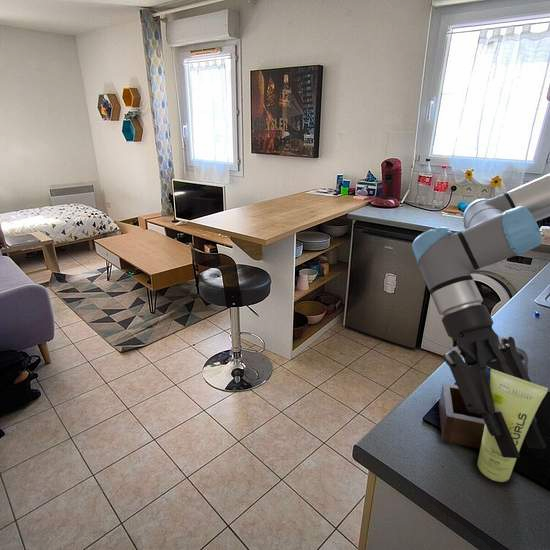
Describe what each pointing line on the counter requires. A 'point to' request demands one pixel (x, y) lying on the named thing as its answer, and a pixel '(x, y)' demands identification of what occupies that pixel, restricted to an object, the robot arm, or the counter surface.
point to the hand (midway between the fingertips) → (524, 452)
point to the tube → (508, 421)
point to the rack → (458, 419)
